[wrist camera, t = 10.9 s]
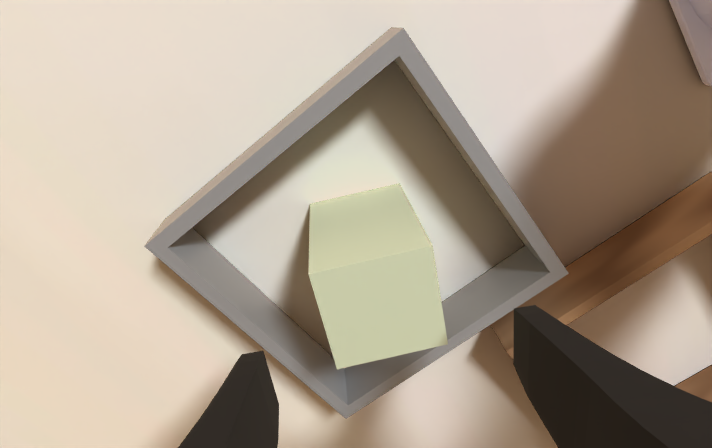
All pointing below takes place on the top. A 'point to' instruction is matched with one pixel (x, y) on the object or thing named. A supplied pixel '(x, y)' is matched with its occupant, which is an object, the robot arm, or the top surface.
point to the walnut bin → (628, 266)
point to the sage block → (374, 277)
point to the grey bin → (278, 331)
